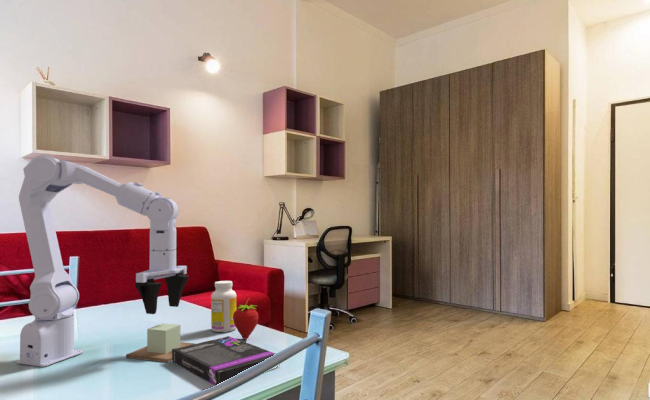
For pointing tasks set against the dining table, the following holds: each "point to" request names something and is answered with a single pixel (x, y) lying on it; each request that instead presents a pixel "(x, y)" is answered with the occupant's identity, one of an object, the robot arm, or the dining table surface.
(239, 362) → the box
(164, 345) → the sage cube
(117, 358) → the dining table surface
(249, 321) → the strawberry
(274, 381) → the dining table surface
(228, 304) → the supplement bottle
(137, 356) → the walnut board
